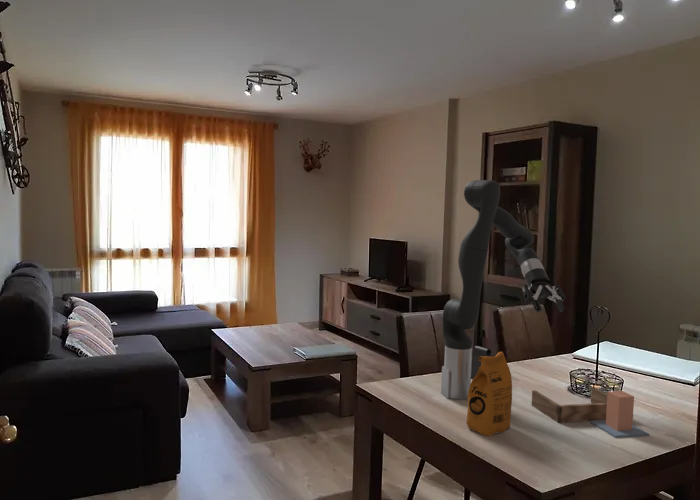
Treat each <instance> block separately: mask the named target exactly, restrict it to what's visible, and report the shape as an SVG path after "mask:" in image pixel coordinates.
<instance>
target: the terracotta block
mask: <svg viewBox="0 0 700 500" xmlns="http://www.w3.org/2000/svg"><path fill="white" fill-rule="evenodd" d="M606 394H607V408H606V425H608V426H610V427H611V428H613V429H615V430H617V431H623V430H632V425H634V424H633V423H634V422H633V421H634V408H635V407H634V406H635V396H634V395H633V394H629V393H627V392H625V391H623V390H613V391H612V390H611V391H610V390H609V391H607V392H606Z"/></svg>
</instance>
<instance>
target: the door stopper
mask: <svg viewBox="0 0 700 500" xmlns="http://www.w3.org/2000/svg"><path fill="white" fill-rule="evenodd" d="M473 348H474V349H473V356H472V362H471V380H473V378H474V377H475V376H476V375H477V373H478V370H479V367H480V366H481V361H479V360H478V358H479V357H480V356H482V357H484V356H487V357H492V349H491V348H488V347H485V346H480V345H475V346H474V347H473Z"/></svg>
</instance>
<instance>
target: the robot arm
mask: <svg viewBox="0 0 700 500" xmlns="http://www.w3.org/2000/svg"><path fill="white" fill-rule="evenodd" d="M463 191H464V192H463V197H464V200H465V202H466V203H467V205H469V206H470V207H471V208H473V209H474V210H476V211H477V212H478V213H479V215H478V216H477V219H476V221H475V222H474V224H473V226H472V227H471V228H470V229H469V230H468V232H466V234H465V236H464V237H463V239H462V240H461V243H460V247H459V253H458V261H457V262H458V269H459V272H460V276H461V280H462V293H461V299H457V298H452V299H449V300H448V301H447V302H446V304H444V307H443V310H442V336H443V339H444V363H443V365H442V366H441V382H440V384H441V385H440V387H441V388H440V393H441V395H443V396H444V397H445V398H446V399H453V400H468V391H469V387H470V384H471V382H472V378H471V363H472V359H473V356H472V355H473V340H472V338H471V337H470V335H468V333H467V332H466V330H471V329H473V328H474V327H475V325H476V324H477V322H478V319H479V315H480V304H481V294H482V286H483V285H482V284H483V279H484V272H485V266H486V263H487V262H486V261H487V257H488V251H489V245H490V238H491V235H492V233H491V232H492V229H493V226H495V228H496V229H497V231H498V232H499V233H500V234H501V235H502V236H503V237H504V238H505V239H504V244H505V247H506V248H507V250H509V251H510V252H511V254H512V255H514V257H515V259H516V260H517V263H518V264H519V267H520V269H521V273H522V275H523V278H524V280H525V283H526V284H524V285H523V287H522V288H521V292H522V294H523V298H524V301H525V302H526V303H530V304H532V307H533V309H534V310H535V312H536V313H540V312H541V311H542V310H543V309H542V306H541V304H540V302H539V301H540V300H538V298H539V299H543V298H544V299H548V300H550V301H552V302H554V303H555V305H556V308H557V309H558V312H559V313H563V312H564V311H565V305H564V303H563V302H564V301H565V299H566V298H567V297H566V295H565V293H564V290H562V287H561V286H560V285H559V284H556V285H554V286H552V285H551V283H550V278H549V277H548V274H547V272H546V270H545V268H544V266H543V264H542V263H541V261H540V259H539V256H538V255H537V252H536V251H535V249H533V248H532V247H529V246H530V245H532V244H533V243H534V241H535V236H534V234H533V232H532V231H531V230H530V229H529V228H527V227H526V226H524V225H522V224H520V223H518V221H517V220H516V219H515V218H514V216H513V215H512V214H511V213H509V212H508V211H507V210H505V209H503V207H500V206H499V203H500V199H501V198H500V197H501V187H500V183H499V182H498V181H496V180H493V179H492V180H490V179H489V180H488V179H486V180H485V179H479V180H477V179H475V180H471V181H469V182H468V183H466V185H465V187H464V190H463ZM531 293H532V294H533V296H532V295H531Z"/></svg>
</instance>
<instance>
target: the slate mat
mask: <svg viewBox="0 0 700 500" xmlns="http://www.w3.org/2000/svg"><path fill="white" fill-rule="evenodd" d="M589 423H590V424H592V425H593V426H595V427H596V428H598V429H600V430H602V431H603V432H605V433H607V434H608V435H610V436H612V437H613V438H616V439H618V438H631V437H645V436H646V437H648V436H650V433H649V432H647V431H645V430H643V429H642V428H639V426H638V427H637V426H635V424H632V430H623V431H617V430H615V429H613V428H611V427H610V426H608V425H606V420H595V421H589Z"/></svg>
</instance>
